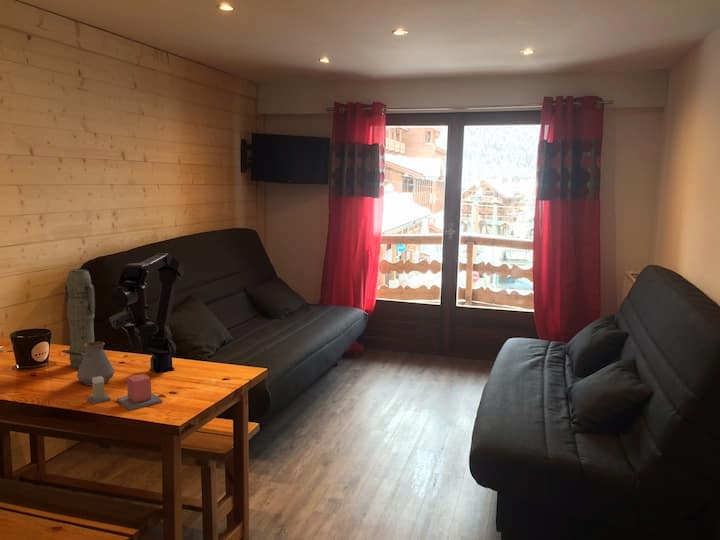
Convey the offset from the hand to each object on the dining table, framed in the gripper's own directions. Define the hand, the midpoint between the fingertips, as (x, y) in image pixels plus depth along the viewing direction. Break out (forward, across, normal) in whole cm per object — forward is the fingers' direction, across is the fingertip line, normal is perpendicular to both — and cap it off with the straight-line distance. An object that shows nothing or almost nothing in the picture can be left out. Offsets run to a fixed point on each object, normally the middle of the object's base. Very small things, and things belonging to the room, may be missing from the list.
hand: (138, 349), depth 192 cm
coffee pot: (+12, -9, -14) cm, 21 cm away
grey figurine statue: (+12, -32, -8) cm, 35 cm away
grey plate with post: (+12, +15, -6) cm, 20 cm away
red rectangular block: (+11, +15, -6) cm, 20 cm away
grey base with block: (+12, +6, -15) cm, 20 cm away
